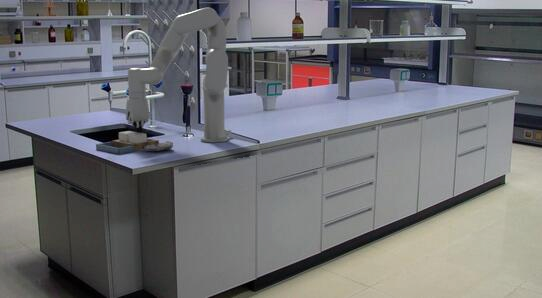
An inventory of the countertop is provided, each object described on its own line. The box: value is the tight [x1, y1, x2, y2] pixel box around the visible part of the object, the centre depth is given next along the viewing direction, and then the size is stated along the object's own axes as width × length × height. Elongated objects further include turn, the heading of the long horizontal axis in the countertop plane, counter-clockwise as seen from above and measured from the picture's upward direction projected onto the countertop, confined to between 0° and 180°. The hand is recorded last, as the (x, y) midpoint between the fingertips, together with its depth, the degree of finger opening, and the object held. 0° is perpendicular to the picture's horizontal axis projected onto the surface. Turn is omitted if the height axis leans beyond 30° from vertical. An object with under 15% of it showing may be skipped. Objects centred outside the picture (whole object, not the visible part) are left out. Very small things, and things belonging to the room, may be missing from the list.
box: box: [95, 141, 135, 155], centre depth 254 cm, size 8×16×2 cm, turn 51°
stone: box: [144, 140, 174, 152], centre depth 254 cm, size 12×9×3 cm
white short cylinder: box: [118, 130, 136, 142], centre depth 263 cm, size 6×6×4 cm
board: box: [111, 138, 160, 152], centre depth 263 cm, size 14×15×3 cm
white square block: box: [128, 132, 148, 143], centre depth 259 cm, size 6×6×4 cm
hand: (138, 135), depth 268 cm, fingers closed
